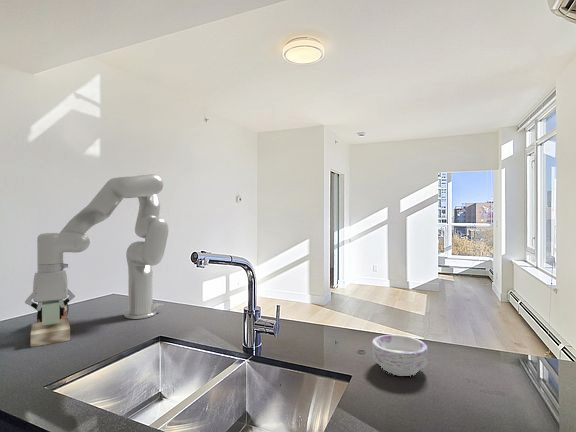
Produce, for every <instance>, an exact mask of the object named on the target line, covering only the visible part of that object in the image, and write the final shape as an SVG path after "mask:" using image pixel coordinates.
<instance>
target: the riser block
mask: <svg viewBox="0 0 576 432" xmlns="http://www.w3.org/2000/svg"><path fill="white" fill-rule="evenodd" d="M68 341H71V326H70V321H69V318H67V317H66V318H65V319H60V323H55V324H48V325H42V322H38V323H37V322H33V323H31V327H30V348H34V347H40V346H45V345H51V344H58V343H61V342H68Z"/></svg>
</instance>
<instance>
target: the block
mask: <svg viewBox="0 0 576 432" xmlns="http://www.w3.org/2000/svg"><path fill="white" fill-rule="evenodd" d="M55 323H60V303H59V301H58V300H54V301H46V302H43V304H42V325H48V324H55Z"/></svg>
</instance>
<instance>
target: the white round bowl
mask: <svg viewBox="0 0 576 432" xmlns="http://www.w3.org/2000/svg"><path fill="white" fill-rule="evenodd" d="M371 351H372V352H371V358H372V360H373V361H374V362H375V363H377V364H378V365H379V366H381V367H380V368H381V369H382V368H383V369H384V370H386V371H388V372H391V373H394V374H401V375H409V374H415V373H417V372H418V373H419V371H420V370H422V369H424V368H426V367H427V365H428V352H429V351H428V345H427V344H426V343H425V342H423V341H422V340H421V339H418V338H416V337H411V336H408V335H407V336H406V335H401V334H384V335H380V336H379V335H378V336H376V337H374V338H373V339H372V342H371ZM383 369H382V370H383ZM384 370H383V371H384ZM418 373H417V374H418ZM415 375H416V374H415Z"/></svg>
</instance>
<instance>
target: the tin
mask: <svg viewBox="0 0 576 432" xmlns="http://www.w3.org/2000/svg"><path fill="white" fill-rule="evenodd" d="M64 300H65V299H63V301H64ZM68 314H69V302H68V303H67V304H66V305H65V306H64V316H61V319H65V318H67V317H68ZM38 322H40V319H38V312H37V314H36V323H38Z"/></svg>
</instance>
